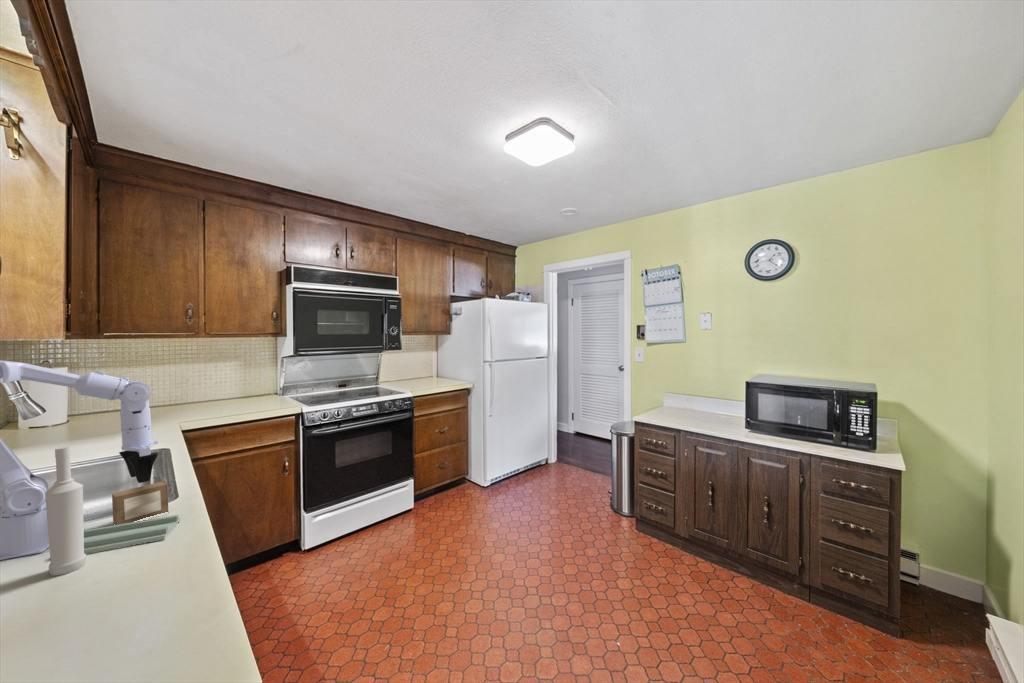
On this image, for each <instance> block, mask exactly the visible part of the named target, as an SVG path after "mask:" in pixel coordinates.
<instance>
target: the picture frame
mask: <svg viewBox="0 0 1024 683" xmlns="http://www.w3.org/2000/svg"><path fill="white" fill-rule="evenodd" d="M168 490H169V489H168V483H166V482H165V481H158V482H154V483H151V484H146V485H143V486H139V487H134V488H129V489H125V490H122V491H117V492H114V493H113V492H112V493H111V500H112V504H111V505H112V506H111V507H112V524H113V523H114V524H115V525H119V524H125V523H131V522H134V521H137V520H140V519H143V518H146V517H150V516H154V515H157V514H161V513H165V512H168V513H169V496H168V495H169V493H168V492H169V491H168Z"/></svg>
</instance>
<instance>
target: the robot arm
mask: <svg viewBox="0 0 1024 683" xmlns="http://www.w3.org/2000/svg"><path fill="white" fill-rule="evenodd" d="M1 379H2V383H4V384H5V383H10V382H11V383H12V382H17V381H30V382H31V381H32V382H35V383H37V382H38V383H43V384H44V383H45V384H49V385H55V386H62V387H69V388H73V389H75V391H76V393H77V394H78V395H80V396H86V397H91V398H92V397H93V398H97V399H98V398H99V399H101V400H108V401H109V400H110V401H116V400H119V401H120V412H119V416H120V428H121V443H122V444H121V451H120V452H118V454H119V455H120V457H122V459H123V461H124V462H125V465H126V467H127V470H128V473H129V476H130V477H131V478H135V479H136V481H137V483H138V484H141V483H146V482H149V481H150V480H151V476H152V472H153V466H154V464H155V461H156V460H157V457H158V455H159V453H158V452H151V449H152V447H153V446H154V445H157V444H159V443H160V442H159V440H158V439H153V431H152V428H153V427H152V416H151V413H152V412H151V408H150V401H149V400H150V398H151V396H152V391H151V389H150V387H149V386H148V385H147V384H146V383H143V382H142V381H140V380H139V381H138V380H136V379H132V380H130V377H126V376H124V377H123V378H122V377H118V376H112V375H109V374H105V371H100V370H97V372H95V371H94V372H93V371H88V372H86V373H83V374H75V373H72V372H71V373H70V372H67V371H62V370H57V369H53V368H48V367H45V366H40V365H35V364H31V363H27V362H20V361H10V360H2V359H1V360H0V380H1ZM48 488H49V484H48V481H47V480H46V479H45V478H43V477H41V476H37V475H36V474H34V473H33V472H32V471H31V470H30V469H29V468H28V466H26V465H24V463H23V462H22V461H21V459H20V458H18V456H17V455H16V454H15V452H14V451H13V450H12V449H11V447H10V446H9V445H8V443H7V442H6V441H5V439H4V438H3V437H2V436H1V435H0V495H1V498H2V502H1V505H2V506H1V507H2V508H3V510H2V511H1V512H0V561H2V560H6V559H12V558H19V557H24V556H30V555H35V554H40V553H43V552H45V551H46V550H47V549H48V548H49V536H48V524H47V511H46V498H45V493H46V492H47V491H48V490H49V489H48Z"/></svg>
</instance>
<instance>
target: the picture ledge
mask: <svg viewBox="0 0 1024 683" xmlns="http://www.w3.org/2000/svg"><path fill="white" fill-rule="evenodd" d="M179 521H180V522H181V518H180V517H179V514H175V515H174V514H173V515H168V516H163V517H155V518H151V519H148V520H143V521H137V522H131V523H125V524H119V525H113V524H112V525H107V526H104V527H95V528H90V529H84V554H86V555H89V554H94V553H101V552H105V550H106V551H109V550H111V549H112V550H117V549H120V548H119V547H122V548H125V547H124V546H128V547H130V546H129V545H133V546H135V545H134V544H139V545H141V544H140V543H144V544H148V543H147V542H150V543H153V541H155V542H159V541H158V540H160V541H164V540H163V539H165V538H166V537H167V538H168V537H169V535H170V534H171V533H172V532H173V531H172V529H173V528H174V527H175V526H176V524H177V523H178V522H179ZM180 522H179V523H180ZM179 523H178V524H179ZM176 527H177V526H176ZM176 527H175V528H176ZM175 528H174V529H175ZM174 529H173V530H174ZM171 531H172V532H171ZM170 532H171V533H170ZM169 533H170V534H169ZM168 534H169V535H168ZM167 538H166V539H167ZM166 539H165V540H166ZM116 548H117V549H116Z"/></svg>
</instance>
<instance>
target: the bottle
mask: <svg viewBox="0 0 1024 683" xmlns="http://www.w3.org/2000/svg"><path fill="white" fill-rule="evenodd" d="M54 458H55V467H56V468H55V469H56V470H55V471H56V472H55V473H56V481H55V482H54V483H53V484H54V485H52V486H51V487H50V488H49V489H47V492H46V493H45V498H46V511H47V524H48V536H49V547H48V548H49V560H50V564H48V571H49V572H48V573H49V574H50V575H51V576H55V577H56V576H61V575H66V574H70V573H73V572H75V571H77V570H79V569H81V568H83V567H84V566H85V564H86V561H87V554H84V530H85V529H84V528H85V527H84V525H85V524H84V484H82V483H79V482H77V481H75V479H74V478H72V469H71V466H72V465H71V446H70V445H69V446H68V445H67V446H60V447H55V449H54Z"/></svg>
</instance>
